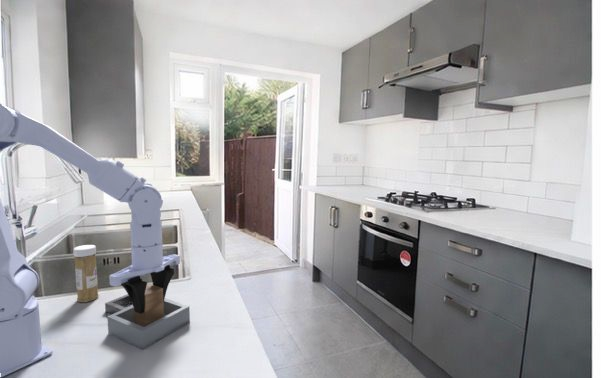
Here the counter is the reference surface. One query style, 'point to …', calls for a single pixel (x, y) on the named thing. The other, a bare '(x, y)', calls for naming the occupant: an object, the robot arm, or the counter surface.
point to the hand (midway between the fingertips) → (149, 307)
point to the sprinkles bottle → (86, 273)
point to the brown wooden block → (151, 306)
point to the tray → (148, 335)
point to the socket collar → (117, 304)
